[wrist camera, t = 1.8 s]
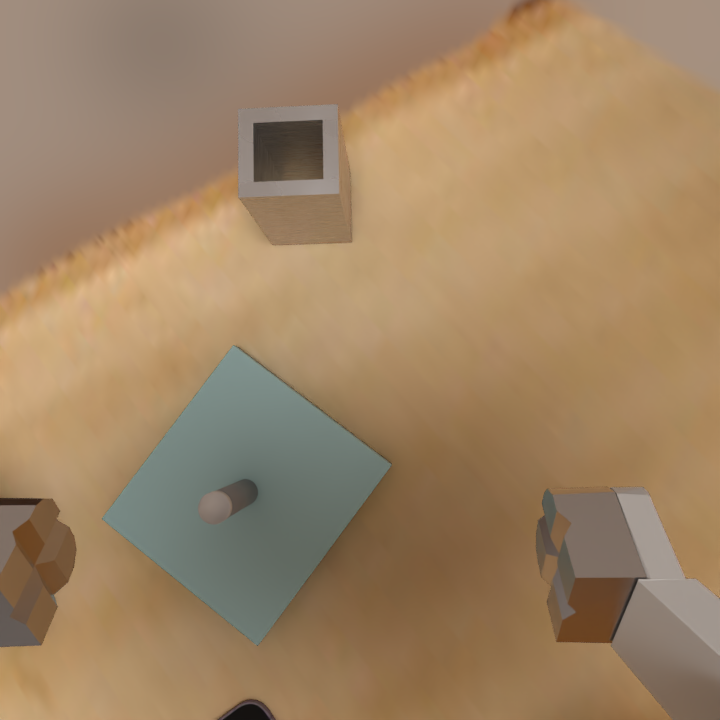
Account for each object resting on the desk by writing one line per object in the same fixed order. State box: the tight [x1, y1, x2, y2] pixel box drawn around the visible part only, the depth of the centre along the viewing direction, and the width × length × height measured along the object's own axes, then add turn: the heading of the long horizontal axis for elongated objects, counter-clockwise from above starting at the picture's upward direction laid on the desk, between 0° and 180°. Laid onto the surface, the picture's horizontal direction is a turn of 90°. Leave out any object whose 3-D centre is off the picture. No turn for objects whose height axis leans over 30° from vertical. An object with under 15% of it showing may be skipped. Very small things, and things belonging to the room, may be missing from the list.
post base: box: [102, 345, 392, 646], centre depth 32 cm, size 12×11×7 cm
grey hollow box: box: [238, 104, 352, 245], centre depth 33 cm, size 4×5×8 cm
